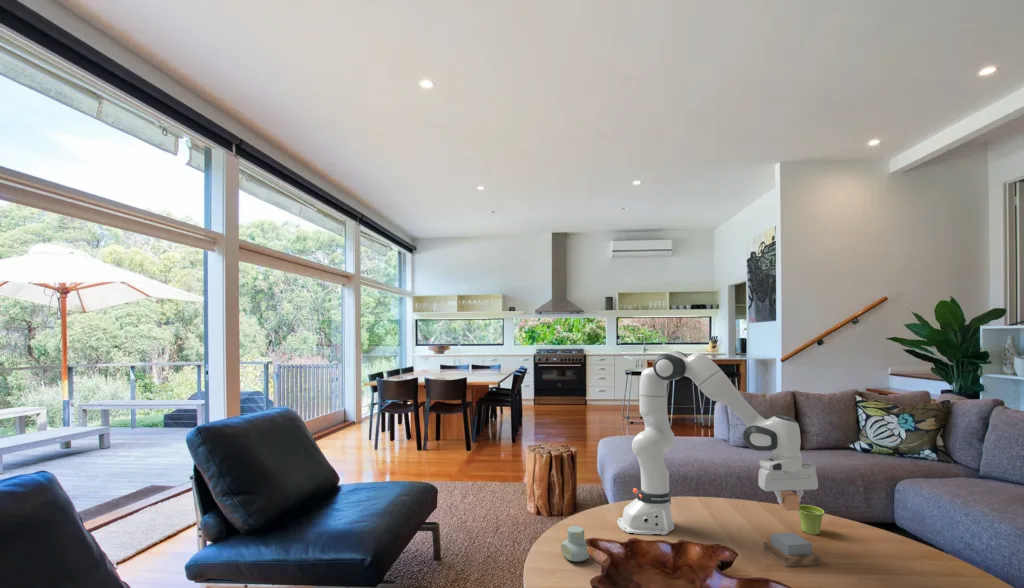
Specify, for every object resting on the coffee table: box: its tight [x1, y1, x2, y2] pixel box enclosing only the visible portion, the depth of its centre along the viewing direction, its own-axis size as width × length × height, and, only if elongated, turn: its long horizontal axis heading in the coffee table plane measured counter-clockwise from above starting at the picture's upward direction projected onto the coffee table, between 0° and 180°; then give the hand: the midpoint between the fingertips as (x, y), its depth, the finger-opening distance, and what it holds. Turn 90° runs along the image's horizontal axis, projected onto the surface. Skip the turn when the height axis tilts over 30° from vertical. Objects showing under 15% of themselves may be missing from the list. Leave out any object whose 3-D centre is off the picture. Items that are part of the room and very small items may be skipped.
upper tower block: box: [770, 532, 813, 556], centre depth 172 cm, size 9×9×4 cm
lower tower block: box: [763, 541, 820, 568], centre depth 172 cm, size 12×12×4 cm
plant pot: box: [797, 504, 825, 536], centre depth 192 cm, size 9×9×9 cm
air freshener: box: [560, 525, 591, 563], centre depth 173 cm, size 11×8×10 cm
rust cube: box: [778, 490, 801, 512], centre depth 173 cm, size 4×4×5 cm
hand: (789, 502), depth 173 cm, fingers closed on rust cube, 4 cm apart
